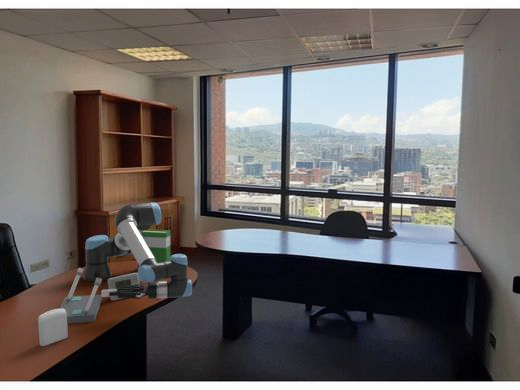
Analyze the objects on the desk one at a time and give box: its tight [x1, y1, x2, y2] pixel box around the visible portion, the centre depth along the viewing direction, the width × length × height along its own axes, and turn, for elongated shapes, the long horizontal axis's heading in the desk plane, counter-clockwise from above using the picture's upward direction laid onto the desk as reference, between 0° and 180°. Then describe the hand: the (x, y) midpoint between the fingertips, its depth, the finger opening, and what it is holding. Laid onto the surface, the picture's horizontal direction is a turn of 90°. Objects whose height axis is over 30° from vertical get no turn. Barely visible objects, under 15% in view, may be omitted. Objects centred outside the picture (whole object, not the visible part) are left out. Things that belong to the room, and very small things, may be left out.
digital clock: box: [106, 272, 141, 302], centre depth 206 cm, size 16×9×11 cm, turn 122°
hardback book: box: [137, 228, 171, 269], centre depth 249 cm, size 18×7×24 cm, turn 84°
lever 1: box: [66, 267, 85, 302], centre depth 193 cm, size 2×5×15 cm, turn 15°
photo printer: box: [37, 308, 69, 347], centre depth 159 cm, size 10×4×12 cm, turn 140°
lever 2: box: [84, 277, 102, 314], centre depth 180 cm, size 2×5×15 cm, turn 15°
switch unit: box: [58, 294, 103, 324], centre depth 187 cm, size 16×24×3 cm, turn 14°
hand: (101, 293), depth 180 cm, fingers closed
